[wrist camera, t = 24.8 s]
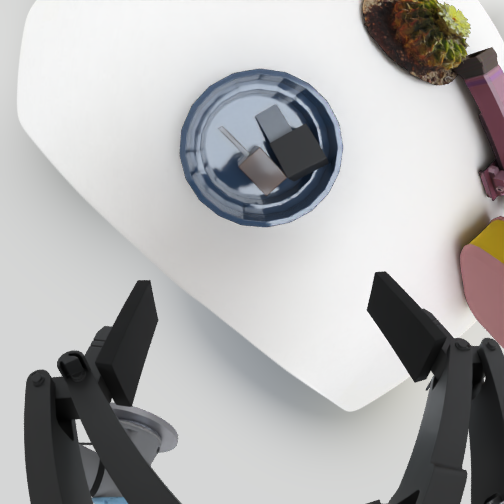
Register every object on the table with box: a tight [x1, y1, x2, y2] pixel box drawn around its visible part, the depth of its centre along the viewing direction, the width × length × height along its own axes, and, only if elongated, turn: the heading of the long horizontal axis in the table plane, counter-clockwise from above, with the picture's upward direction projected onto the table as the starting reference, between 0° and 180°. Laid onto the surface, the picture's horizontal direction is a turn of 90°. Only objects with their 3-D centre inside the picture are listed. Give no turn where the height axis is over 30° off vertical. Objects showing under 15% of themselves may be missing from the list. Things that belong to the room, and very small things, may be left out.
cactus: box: [363, 0, 471, 85], centre depth 18 cm, size 17×16×10 cm
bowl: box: [180, 69, 343, 227], centre depth 27 cm, size 15×15×6 cm
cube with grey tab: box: [255, 104, 329, 181], centre depth 26 cm, size 8×3×4 cm
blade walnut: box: [219, 126, 287, 196], centre depth 27 cm, size 8×3×4 cm, turn 43°
